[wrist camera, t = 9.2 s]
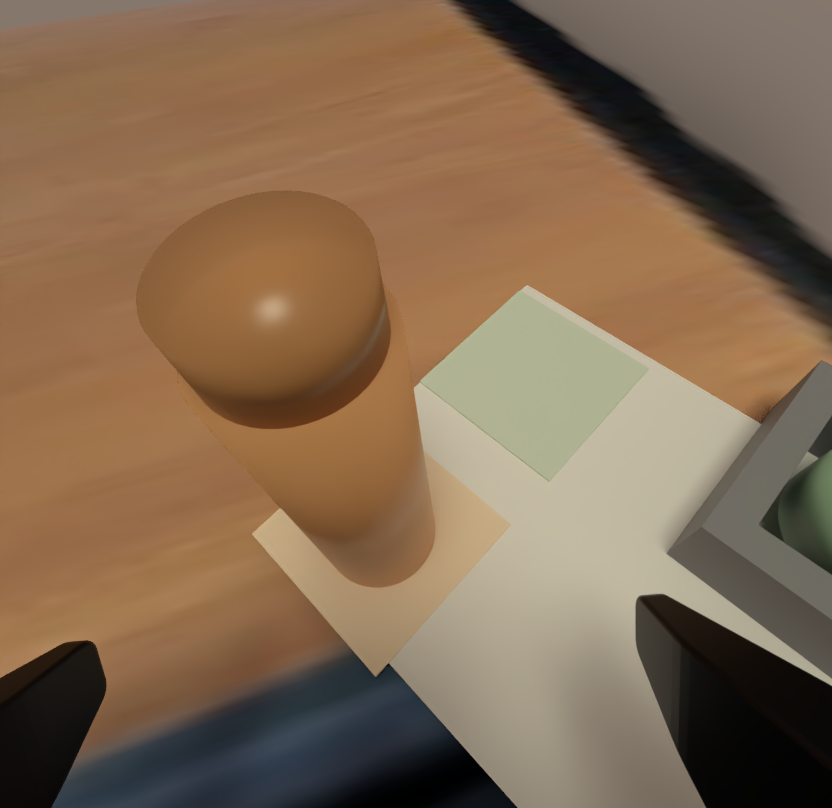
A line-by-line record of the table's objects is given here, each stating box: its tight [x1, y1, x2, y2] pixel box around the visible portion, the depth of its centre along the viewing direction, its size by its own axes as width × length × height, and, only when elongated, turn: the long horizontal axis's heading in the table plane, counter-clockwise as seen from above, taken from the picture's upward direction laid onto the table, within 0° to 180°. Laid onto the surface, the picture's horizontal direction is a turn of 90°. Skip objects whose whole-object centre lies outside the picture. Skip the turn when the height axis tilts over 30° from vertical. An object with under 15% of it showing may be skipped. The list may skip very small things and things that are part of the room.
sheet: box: [252, 285, 832, 808], centre depth 15 cm, size 17×16×3 cm
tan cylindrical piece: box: [136, 191, 435, 588], centre depth 12 cm, size 4×4×12 cm
